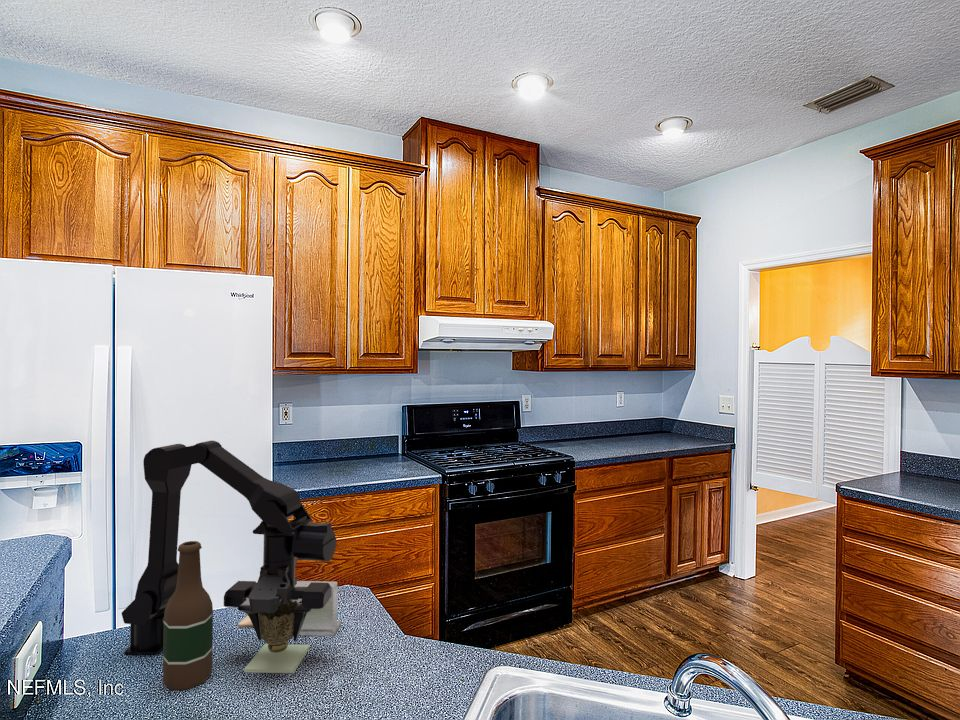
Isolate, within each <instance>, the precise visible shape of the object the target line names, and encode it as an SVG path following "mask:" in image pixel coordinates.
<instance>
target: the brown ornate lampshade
mask: <svg viewBox="0 0 960 720" xmlns="http://www.w3.org/2000/svg"><path fill="white" fill-rule="evenodd" d="M297 605H298V603H297V601H294V602H293V601H292V600H290V601H289V603H288V604H282V605H281V606H279V608H278V610H277V611H276V612H275V613H265V612H258V619H259V628H260V634H261V637H262V639H261V640H262V641H263V642H264V643H265V644H268V649H269V651H271V652H274V653H277V652H281V651H284V650H285V649H286V648H287V647H288V645H290V644H289V642H290V640H291V639H292V638H293V632H294V622H295V614H294V609H295V608H296V607H297Z"/></svg>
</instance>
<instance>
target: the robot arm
mask: <svg viewBox="0 0 960 720" xmlns="http://www.w3.org/2000/svg"><path fill="white" fill-rule="evenodd" d="M142 462H143V463H142V465H143V472H144V473H143V474H144V480H145V481H146V484H147V485H148V487H149V489H150V491H151V507H150V508H151V509H150V510H151V511H150V523H149V524H150V525H149V541H148V555H147V566H146V567H145V569H144V571H143V573H142V574H141V576H140V578H139V580H138V582H137V586H136V592H135V596H134V600H132V601H131V602H130V603H129V604H128V605H127V606H126V607H125V609H124V610H123V611H121V616H122V617H121V618H122V620H123V623H124V624H128V625H130V626H129V627H130V629H129V631H130V634H129V635H130V637H129V641H130V642H129V647H128V648H126V649H124V654H126V655H132V654H133V655H157V654H159V653H160V652H161V651H163V628H164V612H165V608H166V605H167V603H168V600H169V599H170V597H171V596H172V595H173V593H174V592H175V589H176V585H177V577H178V565H179V561H178V560H177V559H178V558H177V557H178V542H179V527H180V513H181V512H180V507H181V497H182V496H181V495H182V489H183V487H184V486H185V483H186V481H187V480H188V478H189V477H190V473H191V468H192V465H196V464H200V465H201V466H203V467H204V468H205V469H207V470H208V471H209V472H211V473H212V474H213V475H214V476H215V477H218V478H219V479H221V480H222V481H223V482H224V483H226V484H227V486H230V487H231V488H232V489H234V491H237V492H238V493H239V494H241V496H243V497H244V498H245V499H246V500H247V501H248V503H249V506H250V508H251V510H252V511H253V512H254V514H255V515H256V516H257V517H258V518H259V519H260V520H261V522H260V523H259V524H258V526H256V528H254V529H253V530H252V534H254V535H263V555H262V556H263V557H262V558H263V561H262V563H263V565H262V566H261V567H260V571H259V577H258V579H257V582H256V580H255V581H254V580H238V581H236V582H235V583H234V584H233V585H232V586H231V587H229V588H228V589H227V590H226V591H225V593H224V595H223V607H226V608H237V611H239V612H244V613H245V614H246V616H247V615H248V616H249V618H250V620H251V622H252V624H253V627H254V628H253V629H254V632H255V634H256V636H257V640H258V641H261V640H263V639H262V637H261V634H260V628H259V619H258V612H265V613H275V612H276V611H277V610H278V608H279V606H281V605H282V604H288V603H289V601H290V600H298V602H299V604H298V605H297V607H296V608H295V609H294V614H295V622H294V632H293V637H292V638H293V642H296V641H297V640H298V638H299V637H300V635H299V633H300V631H301V628H302V625H303V622H304V620H305V617H306V615H307V613H308V612H310V611H311V610H312V609H321V608H324V606H325V605H326V603H327V602H328V600H329V599H330V597H331V589H332V588H331V586H330V584H329V583H316V582H311V583H310V584H309V586H308V587H307V588H306V589H295V585H296V584H297V581H298V578H296V565H297V563H298V560H302V561H317V562H327V563H328V562H331V560H332V559H333V558H334V556H335V555H334V554H335V552H336V547H337V537H336V534H335V531H334V530H333V529H332V523H331V522H321V523H319V522H317V523H316V522H312V521H313V518H312V517H311V516H310V514H309V513H308V511H307V509H306V508H305V506H304V505H303V503H302V500H301V495H300V493H299V492H297V490H295V489H294V488H292V487H290V486H287V485H285V484H284V483H281V482H277V481H275V480H274V481H273V480H270V479H268V478H267V477H264V476H262V475H260V474H259V473H258V472H257V471H255V470H254V469H253V468H252V467H250V466H249V465H248V464H246V463H245V462H244V461H242V460H240V459H239V458H238V457H237V456H235V455H233V454H232V453H231V452H229V451H228V450H227V449H226V448H224V447H223V446H222V444H220V442H218V441H216V440H211V439H210V440H206V441H202V442H198V443H195V444H193V445H189V446H187V445H185V444H182V443H173V444H169V445H164V446H158V447H154V448H152V449H150V450H149V451H148V452H147V453H146V454H145V455H144V457H143V461H142ZM291 518H294V519H292V520H290V521H289V519H291Z"/></svg>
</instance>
